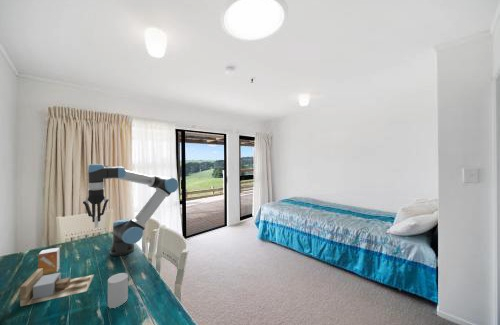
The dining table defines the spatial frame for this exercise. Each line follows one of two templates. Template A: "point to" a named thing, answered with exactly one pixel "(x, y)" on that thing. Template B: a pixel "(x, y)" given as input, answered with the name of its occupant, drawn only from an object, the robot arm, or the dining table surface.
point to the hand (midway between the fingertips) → (96, 226)
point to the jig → (74, 288)
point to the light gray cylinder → (117, 290)
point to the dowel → (62, 284)
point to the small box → (49, 260)
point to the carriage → (45, 285)
